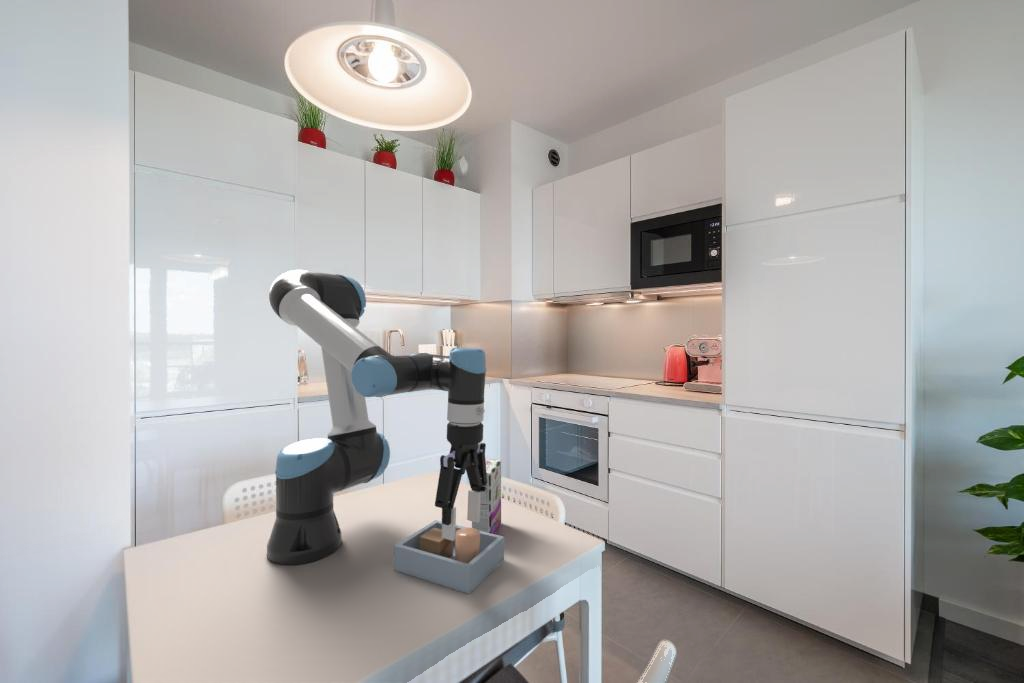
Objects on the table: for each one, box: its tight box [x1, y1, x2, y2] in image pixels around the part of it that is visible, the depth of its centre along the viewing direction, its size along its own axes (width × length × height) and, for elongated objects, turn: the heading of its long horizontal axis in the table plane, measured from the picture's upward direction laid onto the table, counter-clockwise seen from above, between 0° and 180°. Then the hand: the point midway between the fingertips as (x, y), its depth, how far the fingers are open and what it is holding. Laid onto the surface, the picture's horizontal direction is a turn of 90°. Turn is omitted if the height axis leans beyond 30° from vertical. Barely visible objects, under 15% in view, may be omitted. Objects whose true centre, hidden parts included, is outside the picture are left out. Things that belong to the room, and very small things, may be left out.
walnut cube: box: [420, 528, 453, 558], centre depth 94 cm, size 5×5×5 cm
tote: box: [393, 519, 505, 595], centre depth 92 cm, size 18×14×5 cm
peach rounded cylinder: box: [455, 527, 480, 564], centre depth 90 cm, size 5×5×7 cm
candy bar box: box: [471, 458, 502, 535], centre depth 108 cm, size 11×5×16 cm, turn 168°
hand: (461, 529), depth 92 cm, fingers open, 9 cm apart
